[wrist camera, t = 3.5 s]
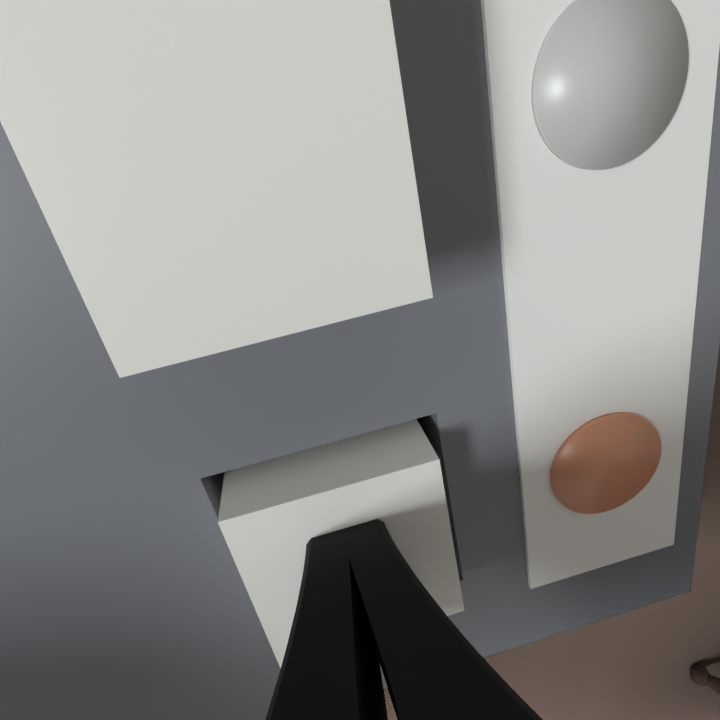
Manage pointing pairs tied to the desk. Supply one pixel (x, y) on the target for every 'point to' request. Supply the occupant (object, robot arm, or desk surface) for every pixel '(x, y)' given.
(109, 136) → the button
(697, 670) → the alarm clock
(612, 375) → the button panel
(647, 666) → the desk surface
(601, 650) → the desk surface
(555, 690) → the desk surface
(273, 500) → the button
